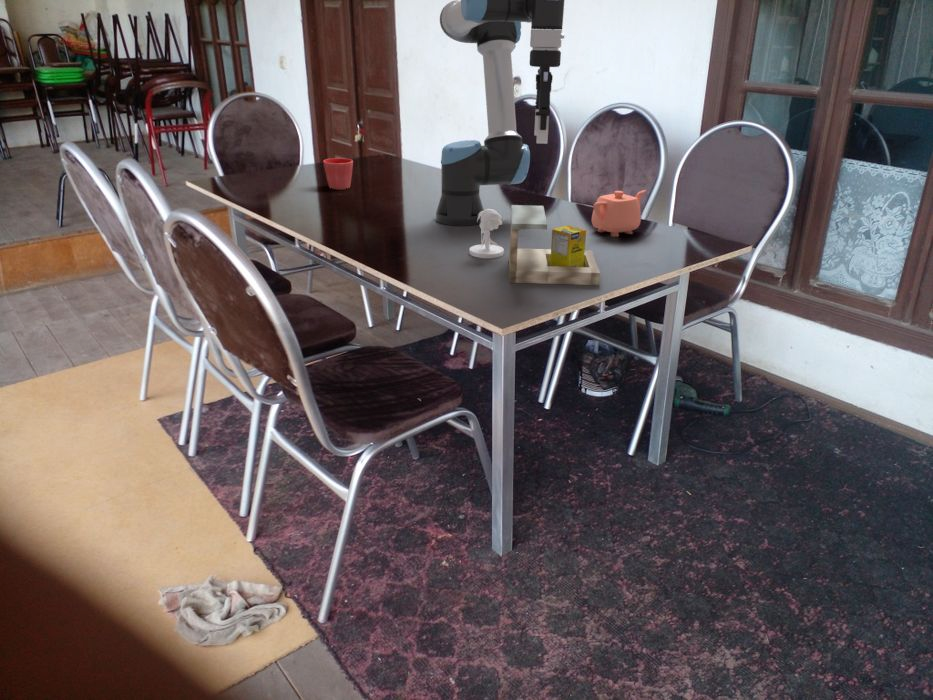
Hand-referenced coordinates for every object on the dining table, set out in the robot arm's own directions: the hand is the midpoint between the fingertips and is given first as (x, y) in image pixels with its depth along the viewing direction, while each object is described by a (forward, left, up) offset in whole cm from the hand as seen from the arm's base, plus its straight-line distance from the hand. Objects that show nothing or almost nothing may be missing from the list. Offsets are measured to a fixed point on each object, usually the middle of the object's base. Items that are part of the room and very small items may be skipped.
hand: (540, 139), depth 180 cm
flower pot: (-69, +71, -29) cm, 103 cm away
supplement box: (+7, -20, -29) cm, 36 cm away
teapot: (+25, +19, -29) cm, 43 cm away
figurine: (-13, -6, -29) cm, 32 cm away
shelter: (+4, -20, -29) cm, 35 cm away
